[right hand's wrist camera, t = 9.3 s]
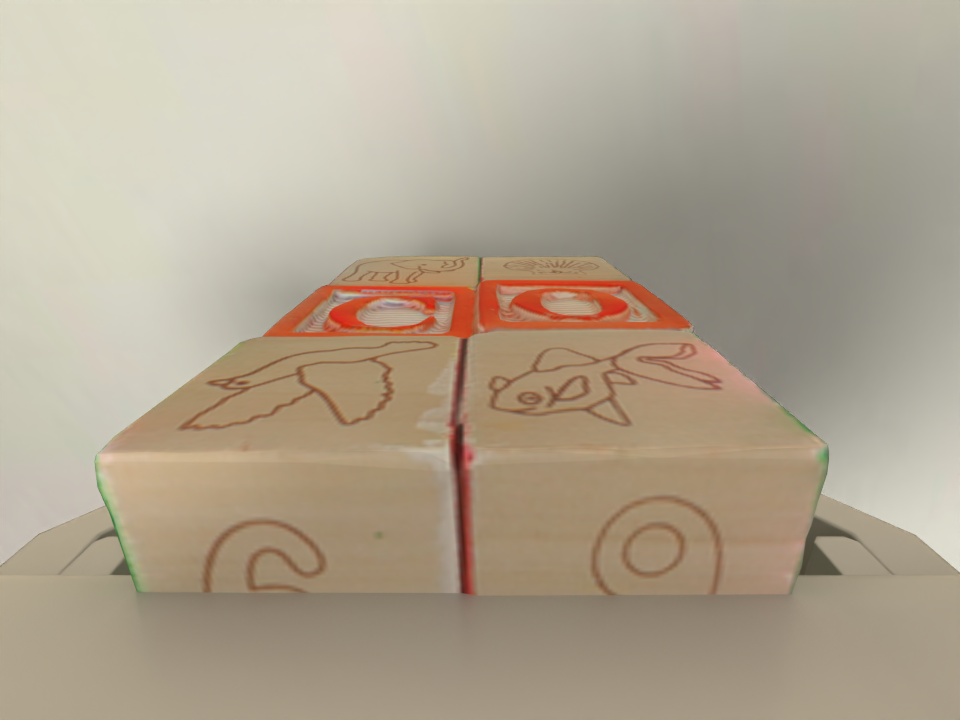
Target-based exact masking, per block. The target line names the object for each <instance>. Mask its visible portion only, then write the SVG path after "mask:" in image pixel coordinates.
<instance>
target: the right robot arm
mask: <svg viewBox="0 0 960 720" xmlns="http://www.w3.org/2000/svg"><path fill="white" fill-rule="evenodd" d="M0 720H960V572H958V571H957V570H956V569H955V568H954V567H952V566H951V565H950V564H949V563H948V562H947V561H945V560H944V559H943V558H942V557H941V556H940V555H938V554H937V553H936V552H935V551H934V550H932V549H931V548H930V547H929V546H928V545H927V544H925V543H924V542H923V541H922V540H921V539H920V538H918V537H917V536H916V535H914V534H912V533H910V532H907V531H905V530H903V529H900V528H898V527H896V526H893V525H891V524H889V523H887V522H884V521H882V520H880V519H877V518H875V517H873V516H871V515H868V514H866V513H864V512H861V511H859V510H857V509H854V508H852V507H850V506H848V505H845V504H843V503H841V502H838V501H836V500H834V499H831V498H829V497H827V496H825V495H822V494H820V497H819V500H818V504H817V507H816V511H815V514H814V518H813V521H812V525H811V527H810V530H809V532H808V534H807V537H806V541H805V548H804V555H803V562H802V567H801V570H800V572H799V575H798V578H797V580H796V583H795V586H794V588H793V591H792V594H760V595H563V596H476V595H470V594H464V593H214V592H137V591H136V588H135V585H134V582H133V580H132V577H131V574H130V571H129V568H128V566H127V563H126V560H125V557H124V554H123V551H122V548H121V546H120V543H119V540H118V537H117V534H116V531H115V528H114V525H113V522H112V520H111V517H110V514H109V511H108V509H107V507H106V506H103V507H101V508H99V509H96V510H94V511H92V512H89V513H87V514H85V515H82V516H80V517H78V518H75V519H73V520H71V521H68V522H66V523H64V524H61V525H59V526H57V527H54V528H52V529H50V530H47V531H45V532H43V533H40V534H38V535H37V536H36V537H35V538H33V539H32V540H31V541H30V542H29V543H27V544H26V545H25V546H24V547H23V548H21V549H20V550H19V551H18V552H17V553H15V554H14V555H13V556H12V557H11V558H9V559H8V560H7V561H6V562H5V563H3V564H2V565H1V566H0Z"/></svg>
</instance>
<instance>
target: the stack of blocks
mask: <svg viewBox="0 0 960 720" xmlns="http://www.w3.org/2000/svg"><path fill="white" fill-rule="evenodd" d="M693 329H694V326H693V325H692V324H691V323H690V322H688V321H687V320H686V319H685V318H684V317H682V316H681V315H680V314H679V313H677V312H676V311H675V310H673V309H672V308H671V307H670V306H668V305H667V304H666V303H664V302H663V301H662V300H660V299H659V298H658V297H656V296H655V295H653V294H652V293H651V292H649V291H648V290H647V289H645V288H644V287H643V286H642V285H640V284H638V283H636V282H633V281H632V279H631V278H629V277H628V276H626V275H625V274H623V273H622V272H620V271H619V270H618V269H617V268H615V267H614V266H612V265H611V264H609V263H608V262H607V261H605V260H604V259H603V258H600V257H597V256H596V257H485V258H479V257H466V256H408V257H381V258H366V259H361V260H358V261H356V262H355V263H353V264H352V265H351V266H349V267H348V268H347V269H346V270H344V271H343V272H342V273H341V274H340V275H339V276H338V277H337V278H336V279H334V280H333V281H332V282H331V283H330V284H329V285H326V286H323V287H320V288H319V289H317V290H316V291H315V292H314V293H313V294H312V295H310V296H309V297H308V298H306V299H305V300H304V301H303V302H302V303H300V304H299V305H298V306H297V307H295V308H294V309H293V310H292V311H290V312H289V313H288V314H286V315H285V316H284V317H283V318H282V319H280V320H279V321H278V322H277V323H276V324H275V325H274V326H273V327H272V328H271V329H270V330H269V331H268V332H266V333H265V334H264V336H263V337H259V338H254V339H250V340H247V341H244V342H241V343H239V344H238V345H237V346H235V347H234V348H233V349H232V350H231V351H229V352H228V353H227V354H225V355H224V356H223V357H221V358H220V359H219V360H217V361H216V362H215V363H213V364H212V365H211V366H209V367H208V368H207V369H205V370H204V371H203V372H201V373H200V374H198V375H197V376H196V377H194V378H193V379H192V380H190V381H189V382H187V383H186V384H185V385H183V386H182V387H181V388H179V389H178V390H177V391H175V392H174V393H173V394H171V395H170V396H169V397H167V398H166V399H165V400H163V401H162V402H161V403H159V404H158V405H157V406H155V407H154V408H153V409H151V410H150V411H148V412H147V413H146V414H144V415H143V416H142V417H140V418H139V419H138V420H136V421H135V422H134V423H132V424H131V425H130V426H128V427H127V428H125V429H124V430H123V431H121V432H120V433H119V434H117V435H116V436H115V437H114V438H113V439H112V440H111V441H110V442H109V443H108V444H107V445H106V446H105V447H104V448H103V449H102V450H101V451H100V452H99V453H98V454H97V455H96V458H95V469H96V478H97V486H98V489H99V491H100V493H101V496H102V498H103V500H104V502H105V505H106V507H107V509H108V511H109V514H110V517H111V520H112V522H113V525H114V528H115V531H116V534H117V537H118V540H119V543H120V546H121V548H122V551H123V554H124V557H125V560H126V563H127V566H128V568H129V571H130V574H131V577H132V580H133V582H134V585H135V588H136V591H137V592H214V593H464V594H470V595H476V596H563V595H760V594H792V591H793V588H794V586H795V583H796V580H797V578H798V575H799V572H800V570H801V567H802V562H803V555H804V548H805V541H806V537H807V534H808V532H809V530H810V527H811V525H812V521H813V518H814V514H815V511H816V507H817V504H818V500H819V497H820V494H821V491H822V487H823V484H824V481H825V478H826V475H827V470H828V462H829V451H828V445H827V444H826V443H825V442H824V441H823V440H821V439H820V438H819V437H818V436H817V435H815V434H814V433H813V432H812V431H810V430H809V429H808V428H807V427H806V426H805V425H803V424H802V423H801V422H800V421H799V420H797V419H796V418H795V417H794V416H793V415H792V414H790V413H789V412H788V411H787V410H786V409H785V408H783V407H782V406H781V405H780V404H779V403H778V402H777V401H775V400H774V399H773V398H772V397H771V396H769V395H768V394H767V393H766V392H765V391H763V390H762V389H761V388H760V387H759V386H757V385H756V384H755V383H754V382H753V381H751V380H750V379H749V378H748V377H746V376H745V375H744V374H743V373H741V372H740V371H739V370H738V369H736V368H735V367H734V366H733V365H731V364H730V363H729V362H728V361H727V360H726V359H725V358H724V357H722V356H721V355H720V354H719V353H718V352H717V351H716V350H714V349H713V348H712V347H711V346H709V345H708V344H706V343H705V342H703V341H701V340H700V339H699V337H698V336H697V335H695V334H693Z"/></svg>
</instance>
